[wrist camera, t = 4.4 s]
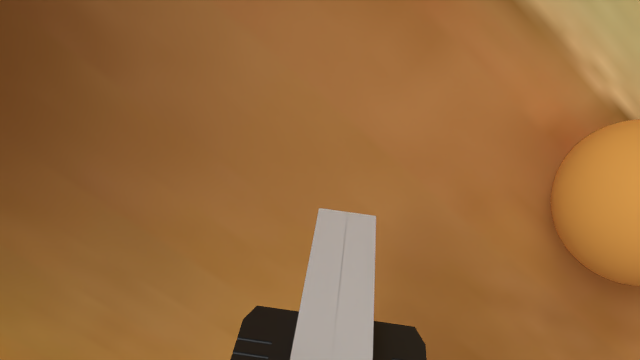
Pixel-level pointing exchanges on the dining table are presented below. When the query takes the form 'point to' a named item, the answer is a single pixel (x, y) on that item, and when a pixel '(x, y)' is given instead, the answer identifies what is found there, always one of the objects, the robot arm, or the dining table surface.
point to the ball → (602, 202)
